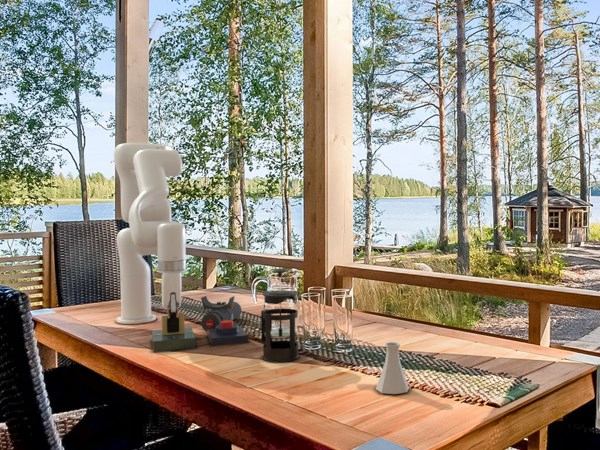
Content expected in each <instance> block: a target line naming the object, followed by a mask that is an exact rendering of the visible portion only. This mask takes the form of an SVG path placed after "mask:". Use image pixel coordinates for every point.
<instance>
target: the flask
mask: <svg viewBox="0 0 600 450" xmlns="http://www.w3.org/2000/svg"><path fill="white" fill-rule="evenodd" d="M384 346H385V347H386V351H385V353H386V354H385V360H384V363H383V367H382V370H381V372H380V376H379V379H378V381H377V384H376V387H375V390H376V391H378V392H379V393H381V394H386V395H387V394H389V395H399V394H404V393H408V391H409V389H410V386H409V384H408V381H407V378H406V375H405V372H404V369H403V366H402V364H401V358H400V351H399V349H400V346H401V343H399V342H396V341H393V342H392V341H390V342H386V343H385V344H384Z"/></svg>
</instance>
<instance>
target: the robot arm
mask: <svg viewBox="0 0 600 450" xmlns="http://www.w3.org/2000/svg"><path fill="white" fill-rule="evenodd" d="M113 162H114V167H115V170H116V172H117V175H118V178H119V182H120V183H119V184H120V213H121V215H120V216H121V218H122V220H123V221H124V222H125V223H128V226H129V227H126V228H123V229H121V230H119V232H118V233H117V235H116V246H117V252H118V258H119V277H120V278H119V280H120V316H118V317H116V318H115V321H116V323H118V324H122V325H136V324H147V323H150V322H153V321H155V320H157V315H156V314H155V313H152V281H151V280H152V278H151V276H152V275H151V273H152V272H151V271H152V270H151V267H150V265H149V264H148V262H147V261H146V260H145V259H144V257H145V256H154V255H155V256H156V255H157V273H159V274H161V308H163V309H166V308H167V309H166V310H167V311H166V312H167V313H166V314H168V318H167V332H168V333H173V332H179V318H178V314H179V308H180V307H181V306H182V295H183V294H182V293H183V292H182V291H183V285H182V284H183V281H182V280H183V277H182V276H183V273H185V272H186V271H187V251H186V249H187V247H186V244H187V243H186V241H187V240H186V226H185V225H184V223H181V222H178V221H175V220H172V205H171V202H170V199H168V197H169V194H170V188H169V184H168V179H167V177H179V176H180V175H181V174H182V171H183V164H184V163H183V159H182V157H181V155H180V153H179V151H177V150H176V149H175V148H173V147H171V146H170V145H166V144H157V143H142V142H126V143H125V142H124V143H119V144H118V145H116V146H115V148H114V151H113ZM143 256H144V257H143Z"/></svg>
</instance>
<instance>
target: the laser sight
mask: <svg viewBox="0 0 600 450" xmlns="http://www.w3.org/2000/svg"><path fill="white" fill-rule="evenodd" d="M200 300H201V304H202V307H203V310H209V311H208V312H207V313H206V314H205V315H204V316H203V317H202V319H201V327H202V329H203V330H204V331H205V332H207V329H215V327H216V326H217V325H221V321H224V320H232V321H233V322H234V320H235V319H236V318H238V317H239V316H240V315H241V313H242V306H241V304H240V303H239V302H237V301H234V300H235V296H231V297H229V298H228V302H227V301H216V303H212V302H211V301H209V299H208V295H204V296H202V297H200Z"/></svg>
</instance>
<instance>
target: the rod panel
mask: <svg viewBox="0 0 600 450" xmlns="http://www.w3.org/2000/svg"><path fill="white" fill-rule="evenodd" d="M151 335H152V336H151V337H152V340H151V341H152V351H153V353H159V352H170V351H171V352H173V351H181V350H182V351H183V350H193V349H196V348H197V338H196V335H195V333H194V330H193V328H192V326H190V327H185V333H184V334H173V335H162V329H153V330H151Z"/></svg>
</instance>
